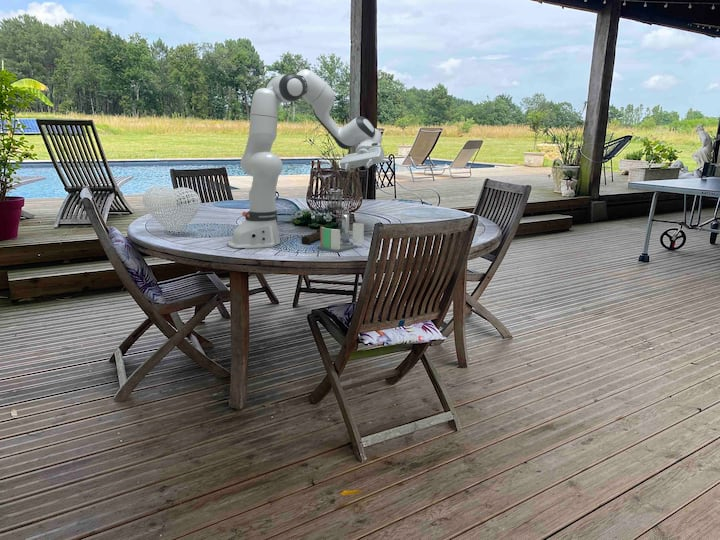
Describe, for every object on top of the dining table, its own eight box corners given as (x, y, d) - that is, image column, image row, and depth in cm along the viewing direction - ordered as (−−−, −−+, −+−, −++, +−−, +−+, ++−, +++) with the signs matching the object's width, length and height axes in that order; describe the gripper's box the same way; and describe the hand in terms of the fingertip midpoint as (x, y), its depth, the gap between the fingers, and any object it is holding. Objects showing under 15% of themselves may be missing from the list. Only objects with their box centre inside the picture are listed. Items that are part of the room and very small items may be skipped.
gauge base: (340, 243, 222) (340, 222, 219) (360, 246, 215) (360, 225, 213) (317, 248, 210) (316, 227, 208) (336, 252, 204) (336, 230, 201)
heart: (209, 234, 238) (206, 186, 232) (185, 240, 224) (181, 189, 218) (164, 229, 249) (160, 183, 243) (139, 234, 235) (134, 186, 229)
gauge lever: (342, 240, 217) (342, 214, 214) (363, 241, 215) (364, 215, 212) (334, 248, 203) (334, 219, 200) (356, 249, 201) (357, 220, 198)
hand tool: (309, 245, 218) (308, 235, 216) (301, 244, 219) (300, 234, 218) (330, 238, 234) (330, 228, 233) (322, 237, 236) (322, 227, 235)
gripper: (343, 150, 233) (333, 166, 223) (383, 142, 224) (375, 158, 214) (347, 162, 236) (338, 178, 227) (388, 154, 227) (379, 171, 218)
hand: (356, 168), depth 220 cm, fingers open, 8 cm apart
